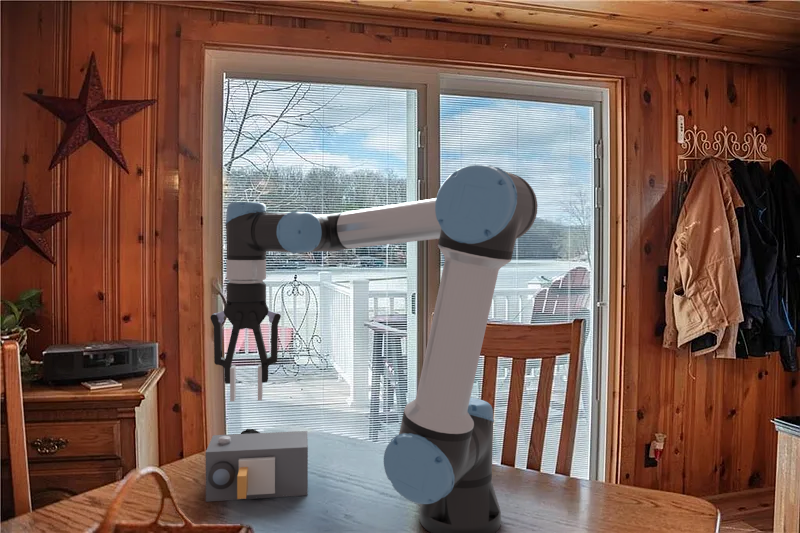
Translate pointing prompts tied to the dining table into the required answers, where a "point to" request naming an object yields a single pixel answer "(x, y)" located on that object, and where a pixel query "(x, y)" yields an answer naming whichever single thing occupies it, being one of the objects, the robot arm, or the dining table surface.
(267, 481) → the door
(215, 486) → the housing
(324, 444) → the dining table surface
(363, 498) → the dining table surface
